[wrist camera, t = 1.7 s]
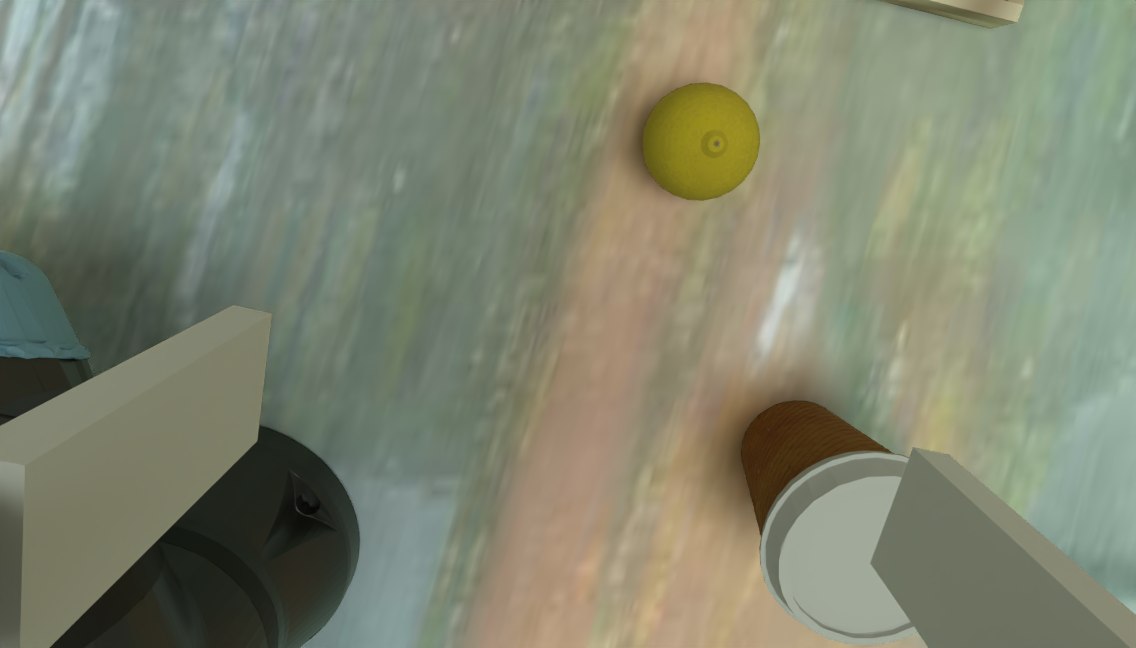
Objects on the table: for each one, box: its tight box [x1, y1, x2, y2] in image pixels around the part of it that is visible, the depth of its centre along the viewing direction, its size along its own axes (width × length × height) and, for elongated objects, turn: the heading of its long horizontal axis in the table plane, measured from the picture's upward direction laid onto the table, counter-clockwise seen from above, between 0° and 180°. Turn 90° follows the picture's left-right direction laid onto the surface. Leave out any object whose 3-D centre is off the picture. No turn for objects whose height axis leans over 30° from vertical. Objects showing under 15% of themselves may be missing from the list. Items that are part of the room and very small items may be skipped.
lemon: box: [642, 83, 760, 201], centre depth 35 cm, size 6×6×8 cm
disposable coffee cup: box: [741, 401, 917, 645], centre depth 38 cm, size 10×10×12 cm
